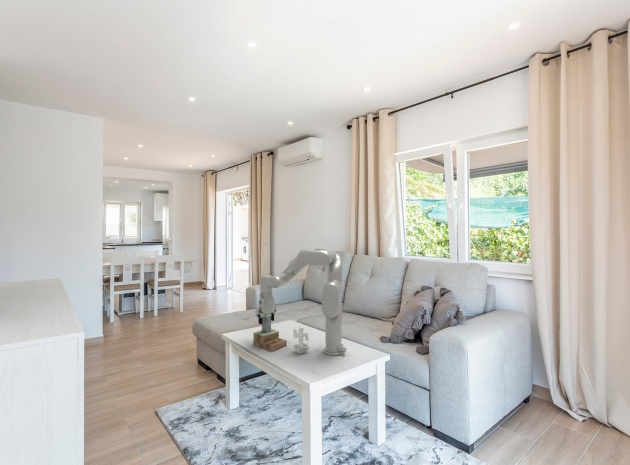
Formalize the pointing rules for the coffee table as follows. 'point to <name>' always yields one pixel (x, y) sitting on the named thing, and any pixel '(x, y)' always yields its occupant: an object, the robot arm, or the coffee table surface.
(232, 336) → the coffee table surface
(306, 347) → the figurine
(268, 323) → the column
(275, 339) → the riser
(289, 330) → the coffee table surface
